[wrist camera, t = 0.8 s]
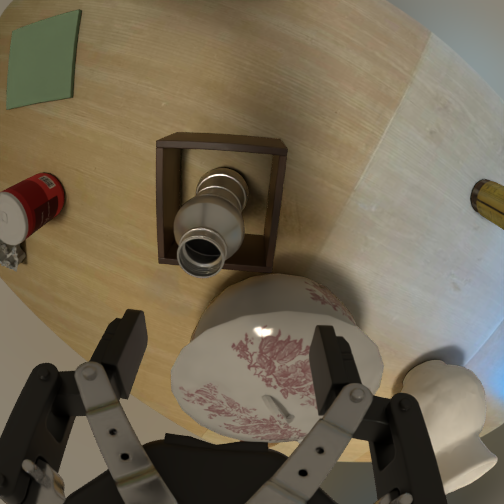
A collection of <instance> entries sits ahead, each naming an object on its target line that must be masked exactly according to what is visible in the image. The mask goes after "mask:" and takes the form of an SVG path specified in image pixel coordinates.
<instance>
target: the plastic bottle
mask: <svg viewBox="0 0 504 504" xmlns="http://www.w3.org/2000/svg"><path fill="white" fill-rule="evenodd" d="M248 198H249V190H248V186H247V184H246V182H245V180H244V179H243V178H242V176H241V175H240V174H238V173H237V172H236V171H234V170H231V169H228V168H218V169H214V170H211V171H209V172H207V173H206V174H205V175H203V176H202V178H201V179H200V180H199V182H198V185H197V189H196V195H195V197H193V198H192V199H190V200H189V201H188V202H186V203H185V204H184V205H183V206H182V207H181V208H180V210H179V211H178V212H177V215H176V217H175V220H174V235H175V240H176V242H177V244H178V246H179V247H178V251H177V259H178V263H179V265H180V266H181V268H182V269H183V270H184V271H185V272H186V273H188V274H189V275H191V276H194V277H197V278H209V277H212V276H214V275H216V274H217V273H218V272H219V271H220V270H221V269H222V267H223V265H224V262H225V260H227V259H228V258H230V257H231V256H232V255H233V254H234V253H235V252H236V251H237V250H238V249H239V248H240V246H241V244H242V242H243V239H244V233H245V230H244V221H243V218H242V214H241V212H242V210H243V209H244V207H245V206H246V204H247V201H248Z"/></svg>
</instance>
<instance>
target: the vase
mask: <svg viewBox="0 0 504 504" xmlns="http://www.w3.org/2000/svg"><path fill="white" fill-rule="evenodd" d="M403 386H404V387H403V389H402V391H401V393H408V394H410V395H412V396H413V397H415V398H416V400H417V401H418V403H419V406H420V409H421V412H422V415H423V418H424V421H425V424H426V427H427V430H428V433H429V437H430V440H431V443H432V447H433V450H434V453H435V457H436V460H437V464H438V468H439V472H440V475H441V479H442V483H443V487H444V491H445V495H446V494H447V493H449V492H452V491H455V490H456V489H459V488H461V487H464V486H466V485H468V484H470V483H472V482H473V481H475V480H476V479H478V478H479V477H481V476H482V475H483V474H484V473H486V472H487V471H488V470H489V469H491V468H492V467H493V466H494V465H495V464H496V463H497V460H498V459H497V457H496V456H495V455H494V454H493V453H491V452H490V451H489V450H488V449H487V447H486V446H485V445H484V443H483V442H482V441H481V439H480V438H479V436H478V435H479V433H480V432H481V431H482V428H483V426H484V422H485V418H486V396H485V390H484V387H483V385H482V383H481V381H480V380H479V379H478V378H477V376H476V375H475V374H474V373H473V372H472V371H471V370H469V369H467V368H465V367H461V366H458V365H446V364H445V363H444V362H443V361H441V360H430V361H426V362H424V363H422V364H420V365H417V366H416V367H415V368H413V369H412V370H411V371H409V372H408V374H407V375H406V377H405V378H404V380H403Z"/></svg>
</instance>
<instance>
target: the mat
mask: <svg viewBox="0 0 504 504" xmlns="http://www.w3.org/2000/svg"><path fill="white" fill-rule="evenodd" d="M81 12H82V10H80V9H79V10H75V11H71V12H67V13H64V14H60V15H57V16H54V17H50V18H47V19H44V20H41V21H38V22H35V23H33V24H30V25H27V26H24V27H22V28H19V29H17V30H14V31H13V32H12V39H11V46H10V55H9V65H8V78H7V101H6V110H8V109H12V108H17V107H21V106H26V105H31V104H36V103H41V102H47V101H53V100H59V99H65V98H72V97H73V86H74V70H75V58H76V48H77V39H78V32H79V25H80V18H81Z"/></svg>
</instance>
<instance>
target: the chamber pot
mask: <svg viewBox="0 0 504 504" xmlns="http://www.w3.org/2000/svg"><path fill="white" fill-rule="evenodd" d="M316 325H332V326H333V327H334V330H335V334H336V336H343V337H344V338H345V340H346V341H347V342H348V343H349V345H350V348H351V351H352V354H353V357H354V360H355V363H356V366H357V369H358V372H359V376H360V379H361V382H362V385H364V386H366V387H367V388H368V389H369V390H370V391H371V393H372V395H374V394H375V393H376V391H377V390H378V388H379V387H380V383H381V378H382V373H383V368H384V365H383V362H382V358H381V355H380V352H379V348H378V346H377V345H376V344H375V343H374V342H373V341H372V340H371V339H370V338H369V337H368V336H367V335H366V334H365V333H364V332H363V331H362V330H361V329H360V328H358V327H357V326H356V323H355V321H354V318H353V316H352V314H351V313H350V312H349V310H348V309H347V308H346V307H345V305H344V304H343V303H342V302H341V301H340V300H339V299H338V298H337V297H336V296H335V295H334V294H333V293H332V292H331V291H330V290H329V289H328V288H327V287H326V286H323V285H321V284H319V283H317V282H315V281H312V280H310V279H308V278H306V277H301V276H294V275H286V274H279V273H274V274H266V275H259V276H253V277H250V278H248V279H245V280H243V281H241V282H238V283H236V284H234V285H231V286H229V287H227V288H226V289H225V290H223V291H222V292H221V293H220V294H219V295H218V296H216V297H215V298H214V299H213V300H212V301H211V302H210V303H209V304H208V306H207V308H206V310H205V311H204V313H203V315H202V317H201V318H200V320H199V322H198V324H197V326H196V328H195V330H194V331H193V333H192V336H191V340H190V343H189V344H188V345H187V346H185V347H184V348H183V349H182V350H181V352H180V354H179V356H178V358H177V359H176V361H175V363H174V365H173V367H172V369H171V389H172V392H173V394H174V396H175V398H176V400H177V401H178V403H179V405H180V407H181V408H182V410H183V411H184V412H185V413H187V414H188V415H189V416H190V417H191V418H192V419H194V420H195V421H196V422H197V423H198V424H200V425H201V426H203V427H205V428H207V429H209V430H211V431H214V432H216V433H218V434H220V435H222V436H226V437H230V438H234V439H238V440H242V441H250V442H268V443H280V442H289V441H298V442H299V443H301V442H302V440H303V439H304V438H305V437H306V435H307V434H308V433H309V432H310V430H311V429H312V428H313V426H314V425H315V424H316V422H317V421H318V420H319V419H320V418H322V417H323V416H318V410H317V404H316V398H315V392H314V386H313V380H312V374H311V369H310V363H309V350H310V346H311V342H312V338H313V335H314V331H315V327H316Z"/></svg>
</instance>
